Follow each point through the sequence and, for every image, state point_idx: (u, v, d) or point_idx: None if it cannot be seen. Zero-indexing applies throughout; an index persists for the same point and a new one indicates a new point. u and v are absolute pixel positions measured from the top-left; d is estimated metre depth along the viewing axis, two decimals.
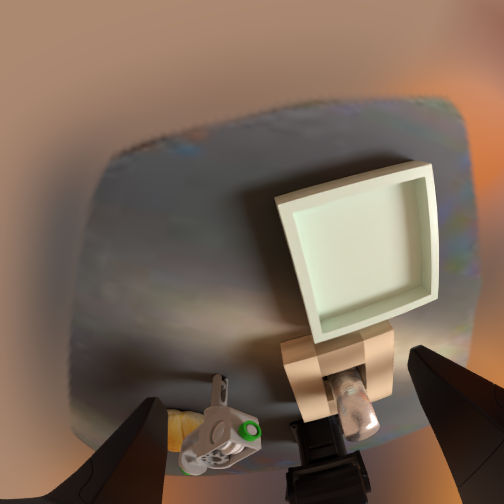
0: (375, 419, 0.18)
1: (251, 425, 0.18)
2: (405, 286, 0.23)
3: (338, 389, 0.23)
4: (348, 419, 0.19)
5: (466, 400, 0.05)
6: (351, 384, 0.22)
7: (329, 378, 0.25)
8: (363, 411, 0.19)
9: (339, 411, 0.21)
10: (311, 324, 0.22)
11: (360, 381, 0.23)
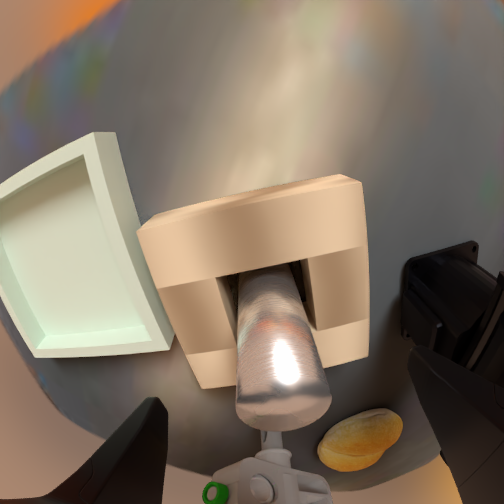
0: (248, 379, 0.08)
1: (211, 488, 0.11)
2: None
3: None
4: None
5: (466, 400, 0.05)
6: None
7: None
8: (236, 377, 0.09)
9: None
10: (136, 352, 0.15)
11: (247, 299, 0.12)
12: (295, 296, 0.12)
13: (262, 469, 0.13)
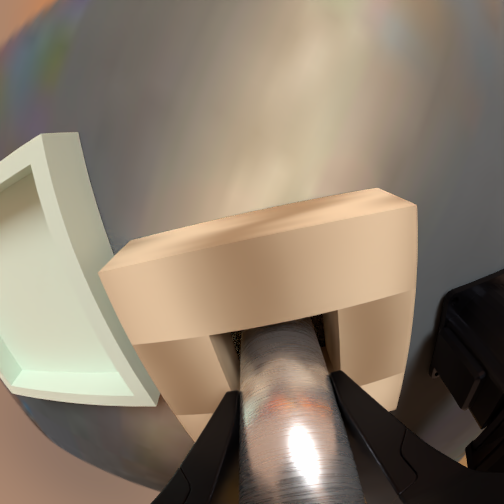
0: None
1: None
2: None
3: None
4: None
5: (365, 442, 0.05)
6: None
7: None
8: (239, 489, 0.05)
9: None
10: (118, 404, 0.11)
11: (253, 368, 0.08)
12: (319, 363, 0.08)
13: None
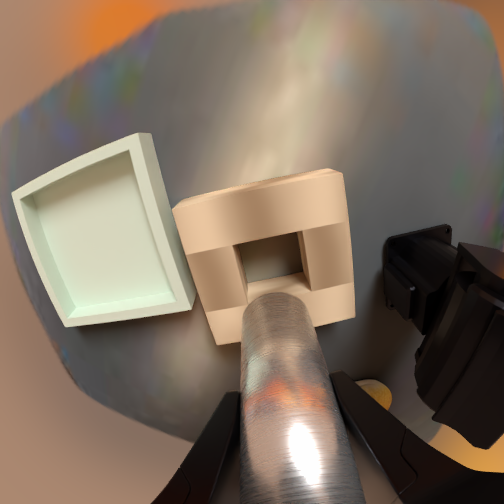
0: None
1: None
2: None
3: None
4: None
5: (365, 442, 0.05)
6: (240, 401, 0.08)
7: None
8: None
9: None
10: (163, 313, 0.19)
11: (254, 368, 0.08)
12: (320, 363, 0.08)
13: None
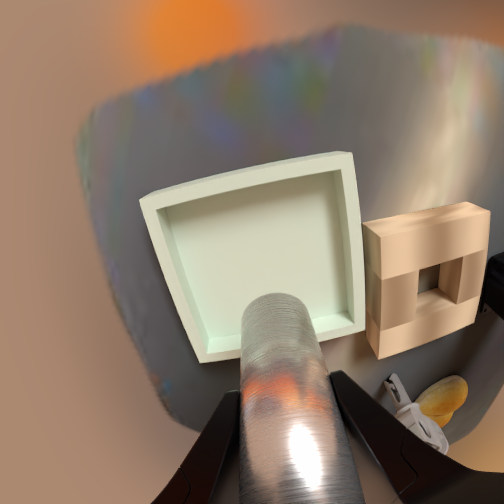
0: None
1: None
2: (327, 197, 0.17)
3: None
4: None
5: (365, 443, 0.05)
6: None
7: None
8: (239, 490, 0.05)
9: None
10: (337, 336, 0.19)
11: (254, 369, 0.08)
12: (319, 364, 0.08)
13: (418, 415, 0.17)
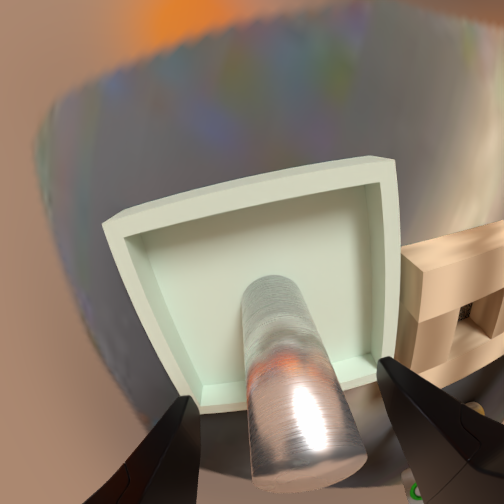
0: (268, 450, 0.05)
1: None
2: (356, 218, 0.12)
3: None
4: None
5: (428, 419, 0.05)
6: None
7: None
8: (249, 439, 0.07)
9: None
10: (358, 385, 0.14)
11: (256, 335, 0.10)
12: (313, 330, 0.10)
13: None
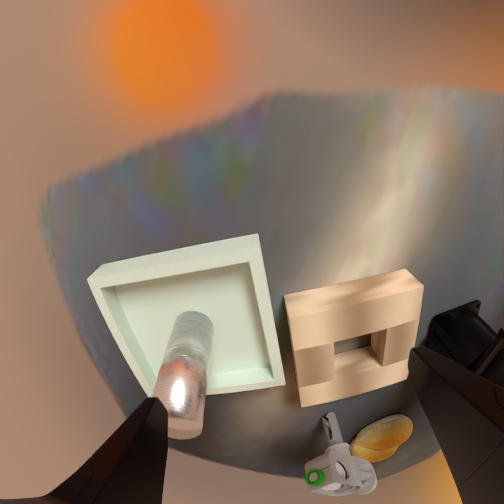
0: None
1: (312, 473, 0.18)
2: (245, 277, 0.19)
3: None
4: None
5: (466, 400, 0.05)
6: None
7: None
8: None
9: None
10: (259, 388, 0.21)
11: (168, 350, 0.17)
12: (199, 351, 0.17)
13: (339, 457, 0.20)
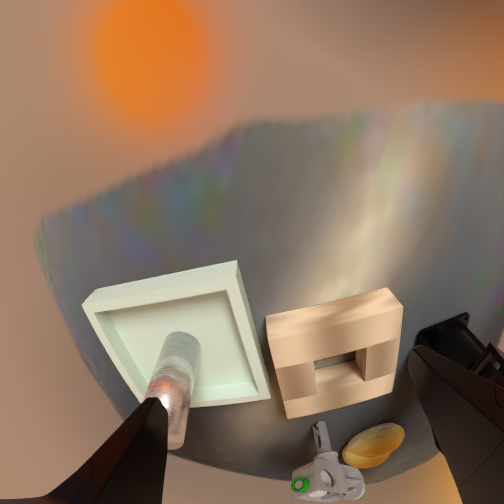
0: None
1: (297, 481, 0.18)
2: (226, 301, 0.20)
3: None
4: None
5: (466, 400, 0.05)
6: None
7: None
8: None
9: None
10: (246, 401, 0.22)
11: (155, 369, 0.18)
12: (184, 370, 0.18)
13: (325, 465, 0.20)
